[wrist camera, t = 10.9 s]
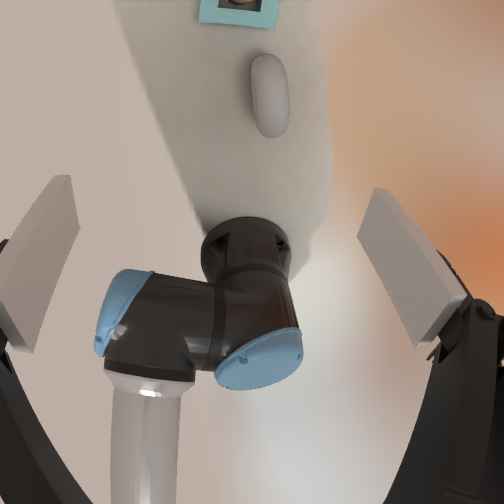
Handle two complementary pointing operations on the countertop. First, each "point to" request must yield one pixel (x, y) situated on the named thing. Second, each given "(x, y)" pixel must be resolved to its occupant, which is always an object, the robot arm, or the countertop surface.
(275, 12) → the teal socket block
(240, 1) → the thick dowel
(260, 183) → the countertop surface
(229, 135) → the countertop surface
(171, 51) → the countertop surface
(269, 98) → the grey rounded flat slab
